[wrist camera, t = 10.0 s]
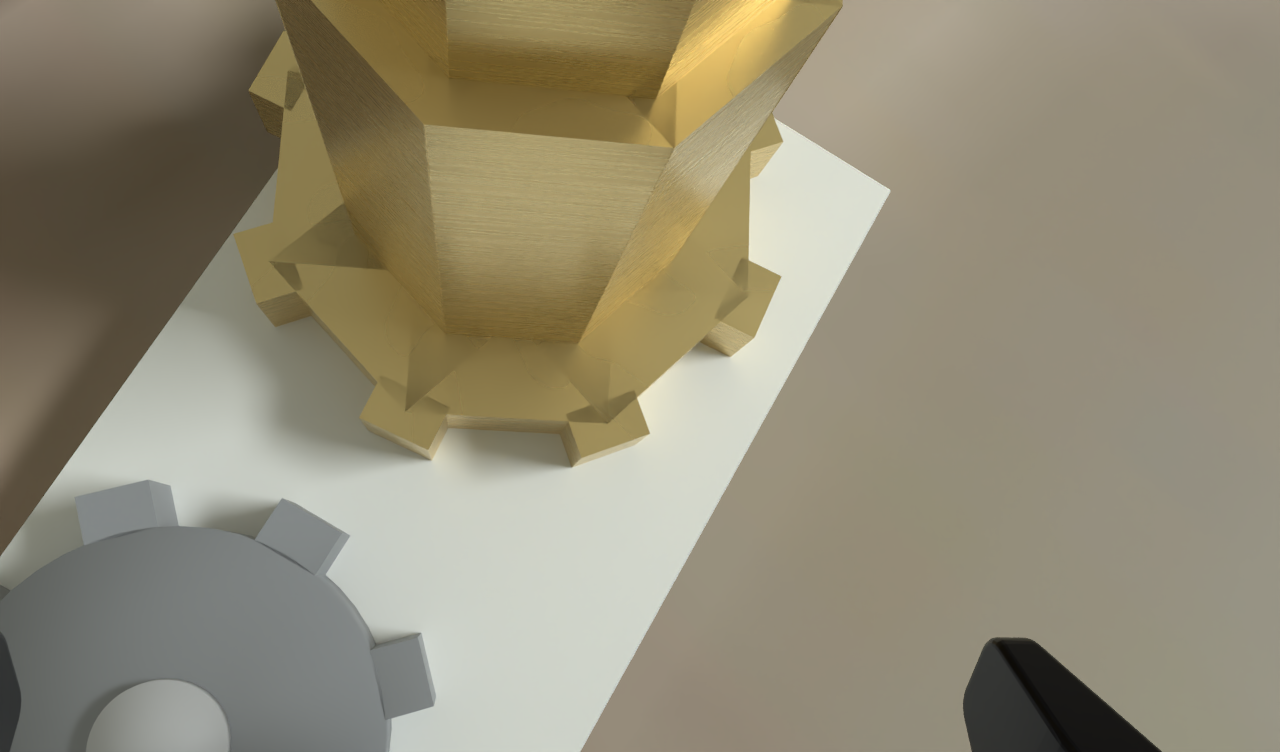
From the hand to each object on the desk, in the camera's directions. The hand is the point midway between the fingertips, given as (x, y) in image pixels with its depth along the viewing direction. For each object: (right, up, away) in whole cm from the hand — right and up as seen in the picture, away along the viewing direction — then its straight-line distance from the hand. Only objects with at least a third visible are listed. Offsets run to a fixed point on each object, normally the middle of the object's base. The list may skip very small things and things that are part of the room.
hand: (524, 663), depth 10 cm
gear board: (-3, +1, +8) cm, 9 cm away
